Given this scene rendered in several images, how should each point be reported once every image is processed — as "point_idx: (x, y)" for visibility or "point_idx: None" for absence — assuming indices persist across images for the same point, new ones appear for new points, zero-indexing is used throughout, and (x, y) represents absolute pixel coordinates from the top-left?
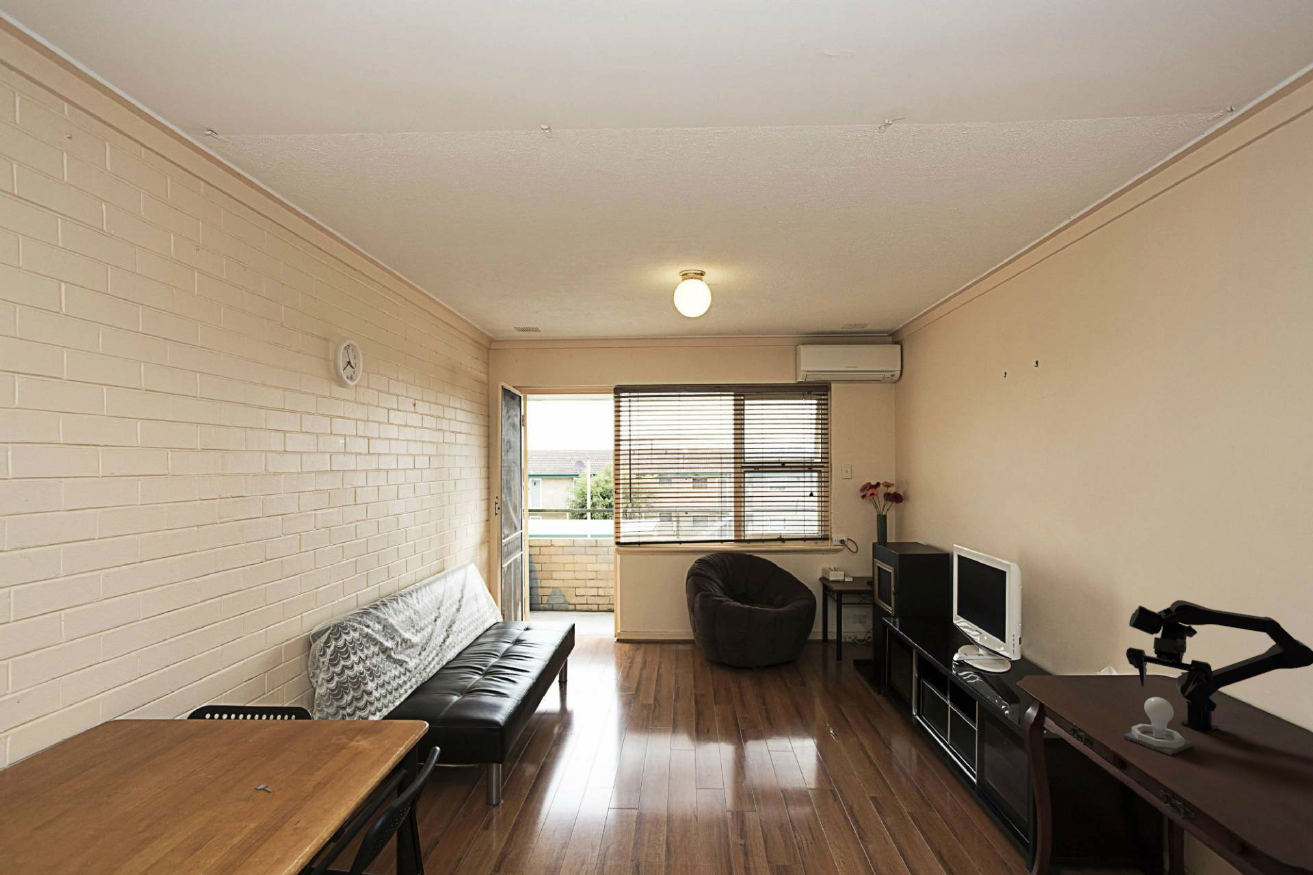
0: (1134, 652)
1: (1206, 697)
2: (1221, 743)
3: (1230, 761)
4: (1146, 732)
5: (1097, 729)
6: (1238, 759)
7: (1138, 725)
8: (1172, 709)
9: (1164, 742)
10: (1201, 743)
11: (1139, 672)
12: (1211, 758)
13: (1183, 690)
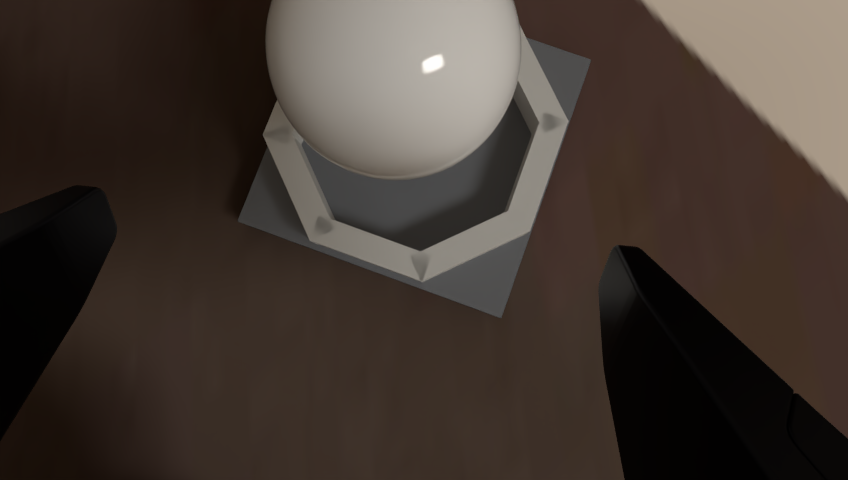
0: None
1: None
2: (100, 400)
3: (66, 129)
4: (484, 199)
5: (738, 113)
6: (27, 192)
7: (535, 185)
8: (268, 12)
9: None
10: (201, 313)
11: (791, 393)
12: (153, 103)
13: (56, 208)
